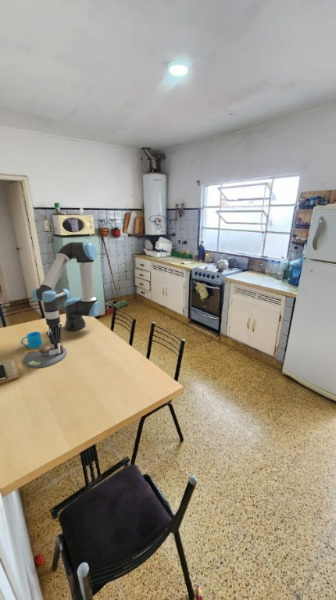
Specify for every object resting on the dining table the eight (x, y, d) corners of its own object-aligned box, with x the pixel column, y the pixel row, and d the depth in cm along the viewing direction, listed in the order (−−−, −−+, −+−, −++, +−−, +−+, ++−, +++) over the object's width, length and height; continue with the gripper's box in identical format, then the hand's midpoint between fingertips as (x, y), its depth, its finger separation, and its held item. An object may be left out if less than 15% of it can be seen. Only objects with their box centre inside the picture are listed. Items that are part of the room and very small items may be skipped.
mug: (42, 341, 174) (40, 330, 171) (42, 346, 167) (40, 335, 164) (22, 344, 169) (20, 334, 166) (21, 350, 162) (19, 339, 159)
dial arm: (64, 349, 160) (63, 343, 158) (62, 354, 154) (61, 348, 153) (27, 353, 155) (25, 347, 153) (24, 359, 149) (23, 352, 148)
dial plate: (56, 343, 171) (56, 337, 170) (73, 356, 155) (72, 350, 154) (18, 356, 155) (16, 351, 154) (32, 373, 139) (30, 367, 138)
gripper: (52, 312, 153) (57, 347, 161) (40, 321, 141) (46, 357, 149) (64, 313, 152) (68, 348, 160) (52, 321, 140) (58, 358, 148)
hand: (57, 352), depth 154 cm, fingers closed
